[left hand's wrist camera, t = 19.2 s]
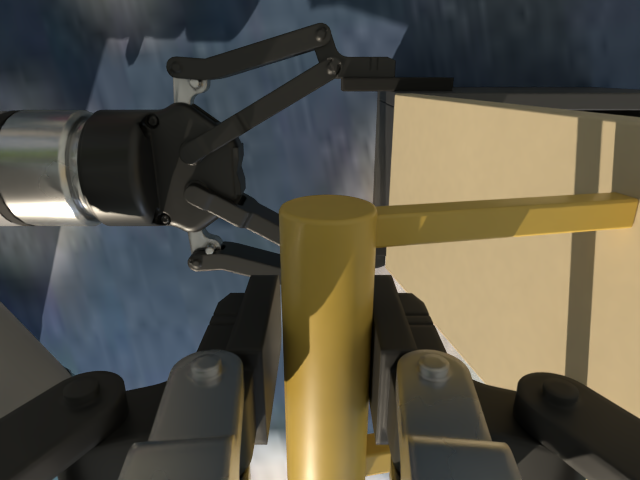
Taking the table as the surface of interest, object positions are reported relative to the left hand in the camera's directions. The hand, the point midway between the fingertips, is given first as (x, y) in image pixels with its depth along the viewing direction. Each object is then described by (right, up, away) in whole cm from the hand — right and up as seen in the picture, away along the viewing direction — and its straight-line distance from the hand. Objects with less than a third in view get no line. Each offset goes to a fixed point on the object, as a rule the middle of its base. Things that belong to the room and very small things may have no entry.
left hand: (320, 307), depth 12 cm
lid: (+7, +2, +5) cm, 9 cm away
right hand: (+8, +6, +18) cm, 21 cm away
